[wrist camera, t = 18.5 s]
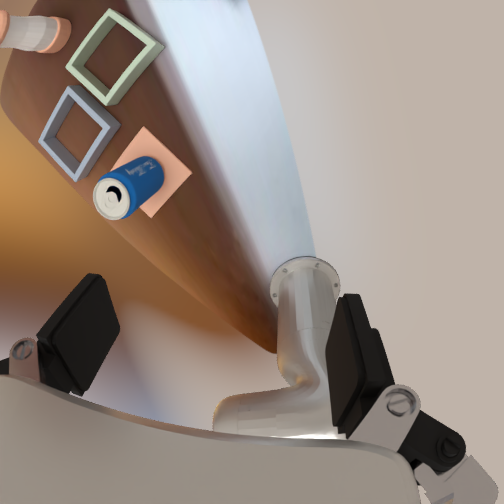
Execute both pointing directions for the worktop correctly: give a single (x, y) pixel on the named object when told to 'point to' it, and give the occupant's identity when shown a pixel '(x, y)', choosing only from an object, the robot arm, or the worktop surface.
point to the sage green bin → (130, 73)
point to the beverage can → (127, 187)
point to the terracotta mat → (169, 162)
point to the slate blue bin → (57, 118)
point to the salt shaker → (34, 32)
